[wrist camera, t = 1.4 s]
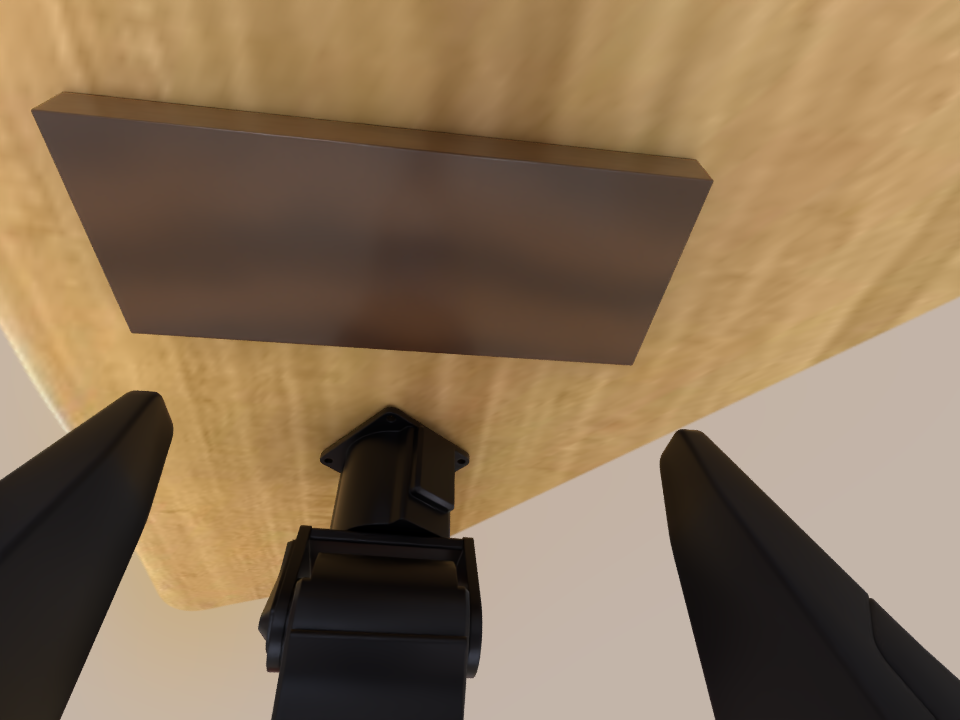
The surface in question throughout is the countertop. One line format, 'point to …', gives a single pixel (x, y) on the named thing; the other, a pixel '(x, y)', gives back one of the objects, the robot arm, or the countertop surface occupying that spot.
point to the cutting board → (371, 231)
